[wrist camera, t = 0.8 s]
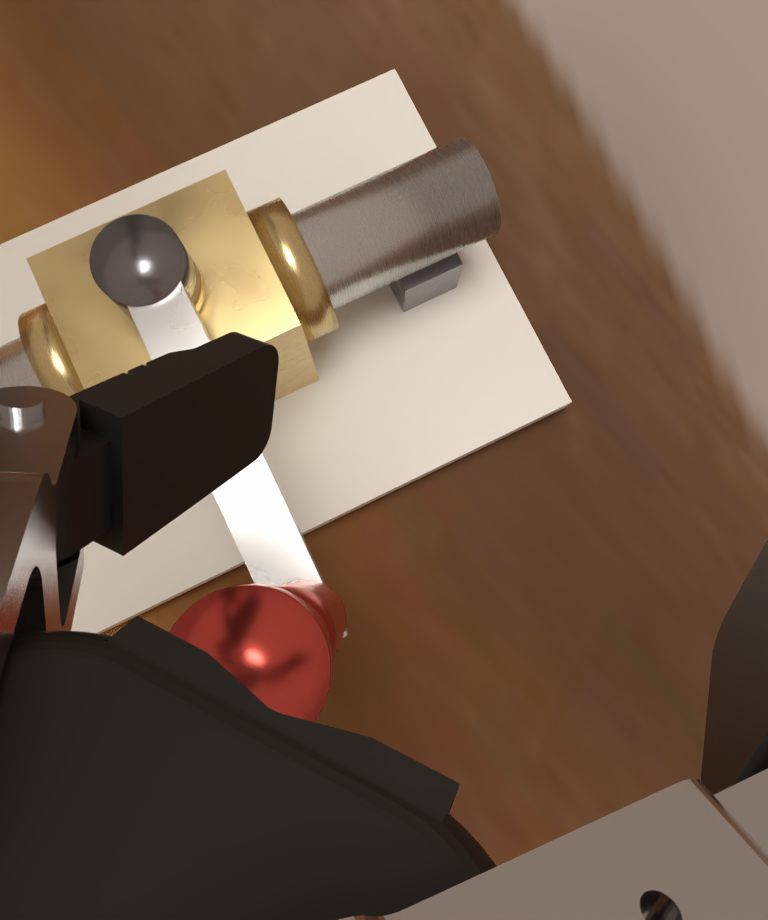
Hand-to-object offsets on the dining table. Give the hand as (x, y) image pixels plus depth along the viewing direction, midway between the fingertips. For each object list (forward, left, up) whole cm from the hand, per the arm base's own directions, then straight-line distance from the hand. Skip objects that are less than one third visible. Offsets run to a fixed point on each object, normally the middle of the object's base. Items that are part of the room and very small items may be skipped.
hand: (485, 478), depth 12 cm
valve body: (-12, -5, -24) cm, 28 cm away
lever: (-6, -5, -14) cm, 16 cm away
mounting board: (-12, -5, -26) cm, 29 cm away
